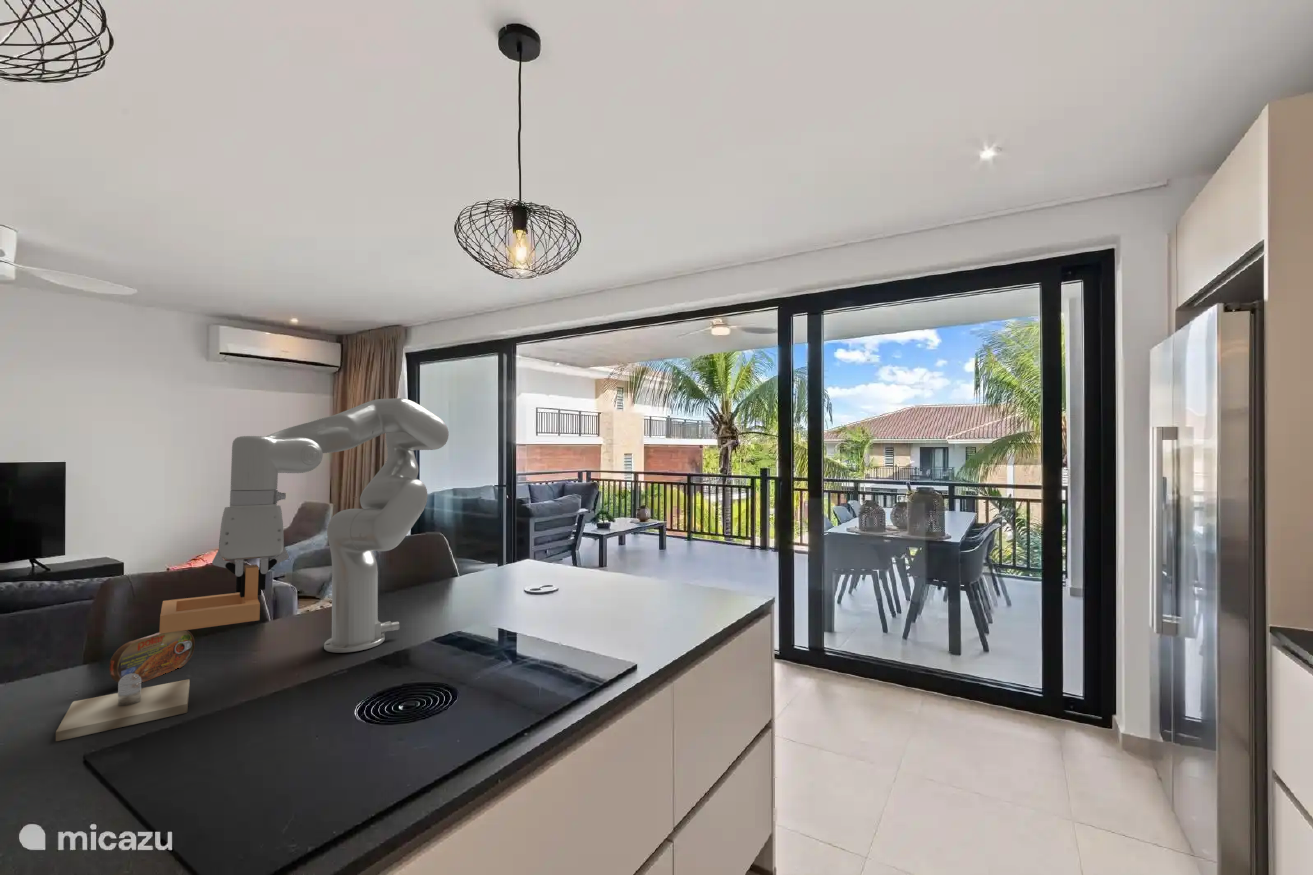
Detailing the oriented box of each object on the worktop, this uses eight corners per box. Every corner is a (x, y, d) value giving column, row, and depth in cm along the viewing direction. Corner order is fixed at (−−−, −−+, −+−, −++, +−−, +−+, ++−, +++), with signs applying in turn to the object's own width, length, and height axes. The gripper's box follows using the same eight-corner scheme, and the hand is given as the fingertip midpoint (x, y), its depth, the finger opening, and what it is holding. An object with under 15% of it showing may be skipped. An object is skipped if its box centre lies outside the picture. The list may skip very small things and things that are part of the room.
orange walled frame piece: (252, 605, 117) (254, 561, 118) (259, 620, 106) (261, 570, 107) (162, 617, 109) (164, 568, 109) (159, 633, 98) (161, 579, 98)
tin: (118, 692, 110) (118, 647, 110) (105, 690, 110) (105, 646, 110) (196, 663, 124) (196, 623, 124) (184, 662, 125) (184, 623, 125)
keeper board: (189, 686, 111) (189, 679, 111) (187, 712, 100) (187, 703, 100) (72, 710, 102) (72, 701, 102) (55, 741, 91) (55, 732, 91)
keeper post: (141, 697, 103) (142, 669, 103) (140, 703, 101) (140, 674, 101) (119, 702, 101) (119, 673, 101) (116, 708, 99) (117, 678, 99)
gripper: (298, 497, 120) (295, 586, 119) (201, 500, 110) (197, 597, 109) (304, 499, 115) (301, 592, 114) (202, 501, 105) (198, 604, 104)
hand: (250, 594), depth 111 cm, fingers closed on orange walled frame piece
